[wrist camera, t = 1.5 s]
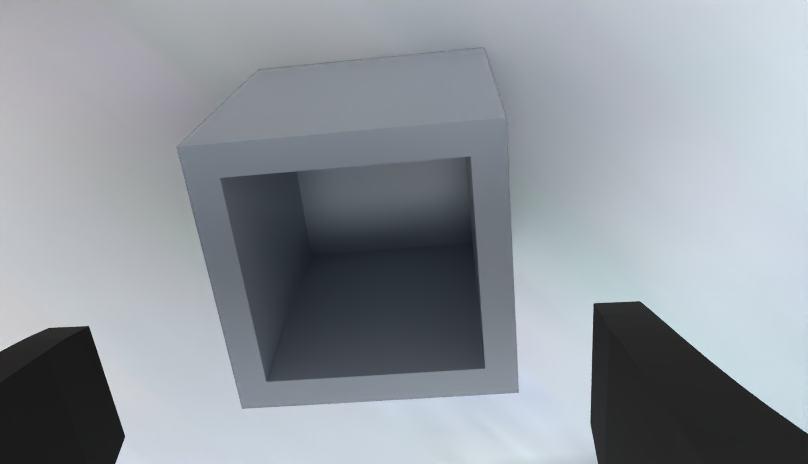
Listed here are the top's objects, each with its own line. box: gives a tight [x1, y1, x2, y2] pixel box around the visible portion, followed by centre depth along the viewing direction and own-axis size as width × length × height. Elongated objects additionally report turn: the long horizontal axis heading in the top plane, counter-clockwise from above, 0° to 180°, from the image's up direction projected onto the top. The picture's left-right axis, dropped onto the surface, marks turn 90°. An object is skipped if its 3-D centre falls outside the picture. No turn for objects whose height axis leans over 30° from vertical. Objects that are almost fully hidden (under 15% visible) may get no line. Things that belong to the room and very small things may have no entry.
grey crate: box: [177, 47, 519, 409], centre depth 15 cm, size 5×5×6 cm
